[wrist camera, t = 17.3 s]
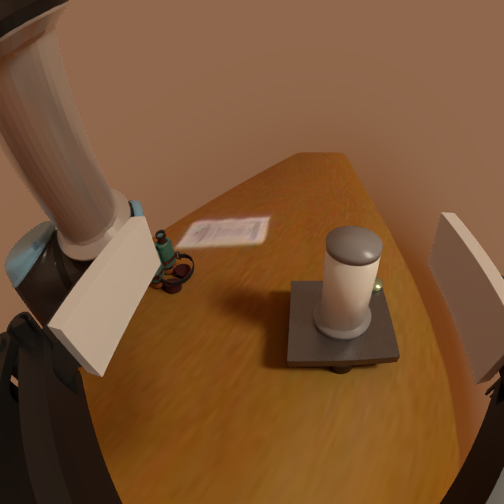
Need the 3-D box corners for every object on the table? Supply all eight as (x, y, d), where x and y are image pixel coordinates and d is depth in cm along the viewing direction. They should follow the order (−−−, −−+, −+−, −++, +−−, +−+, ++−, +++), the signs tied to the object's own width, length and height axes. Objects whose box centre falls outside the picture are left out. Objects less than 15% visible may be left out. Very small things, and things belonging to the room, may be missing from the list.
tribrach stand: (287, 374, 37) (286, 358, 34) (291, 297, 49) (291, 277, 47) (391, 370, 34) (401, 353, 31) (375, 295, 47) (380, 276, 44)
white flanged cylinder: (313, 341, 36) (320, 265, 28) (312, 295, 44) (315, 221, 35) (374, 339, 35) (399, 264, 27) (365, 295, 42) (380, 222, 34)
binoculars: (175, 260, 46) (131, 249, 48) (185, 301, 52) (145, 289, 55) (198, 231, 52) (156, 224, 55) (204, 272, 59) (166, 263, 61)
